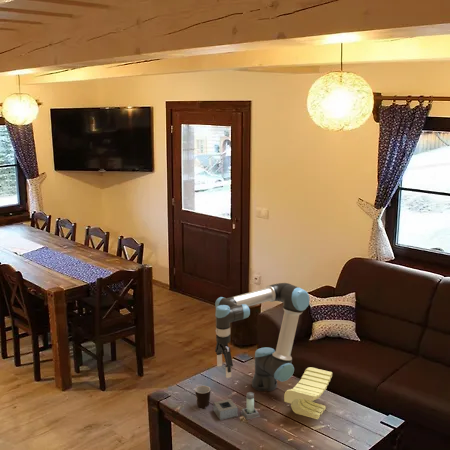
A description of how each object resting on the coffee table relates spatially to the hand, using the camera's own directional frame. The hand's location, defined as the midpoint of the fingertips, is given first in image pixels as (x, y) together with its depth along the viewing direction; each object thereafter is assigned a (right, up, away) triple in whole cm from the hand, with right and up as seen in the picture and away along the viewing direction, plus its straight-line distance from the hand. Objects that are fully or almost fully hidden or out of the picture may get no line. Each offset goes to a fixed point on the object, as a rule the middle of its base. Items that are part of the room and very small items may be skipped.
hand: (224, 371), depth 302 cm
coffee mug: (-11, -23, +16) cm, 30 cm away
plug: (+14, -24, +4) cm, 28 cm away
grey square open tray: (+14, -25, +4) cm, 29 cm away
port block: (+1, -25, +5) cm, 26 cm away
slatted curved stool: (+46, -24, +10) cm, 53 cm away
